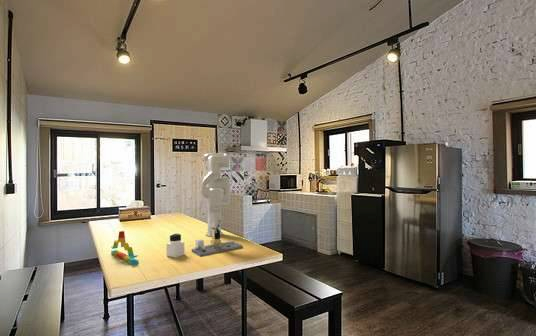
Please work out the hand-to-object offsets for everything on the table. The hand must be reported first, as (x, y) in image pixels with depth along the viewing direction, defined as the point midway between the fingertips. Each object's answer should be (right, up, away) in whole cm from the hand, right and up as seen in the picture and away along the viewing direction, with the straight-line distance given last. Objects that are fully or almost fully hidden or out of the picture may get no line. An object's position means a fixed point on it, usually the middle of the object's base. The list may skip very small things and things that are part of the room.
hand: (215, 238), depth 185 cm
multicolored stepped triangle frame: (-48, -7, -18) cm, 51 cm away
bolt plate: (+2, -6, -3) cm, 7 cm away
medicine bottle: (-21, -7, -14) cm, 25 cm away
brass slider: (+1, -4, -2) cm, 5 cm away
